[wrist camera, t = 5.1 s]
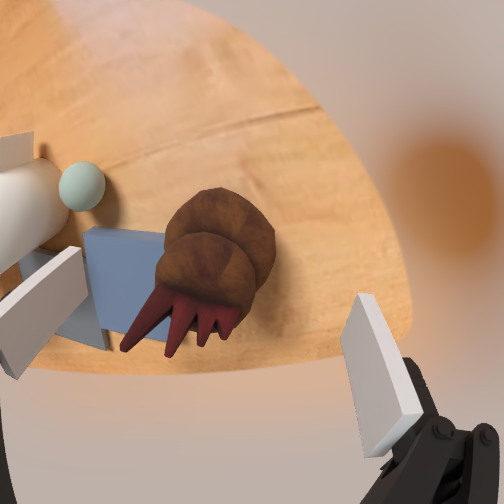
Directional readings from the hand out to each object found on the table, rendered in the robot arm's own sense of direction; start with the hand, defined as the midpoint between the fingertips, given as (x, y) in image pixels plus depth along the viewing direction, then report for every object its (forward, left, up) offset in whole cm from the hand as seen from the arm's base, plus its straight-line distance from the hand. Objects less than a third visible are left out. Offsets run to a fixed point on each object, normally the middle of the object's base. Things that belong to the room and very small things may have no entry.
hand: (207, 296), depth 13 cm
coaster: (-18, -11, -11) cm, 24 cm away
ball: (-12, +2, -11) cm, 16 cm away
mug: (-19, +1, -11) cm, 22 cm away
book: (-8, -7, -11) cm, 16 cm away
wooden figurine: (0, 0, -11) cm, 11 cm away
